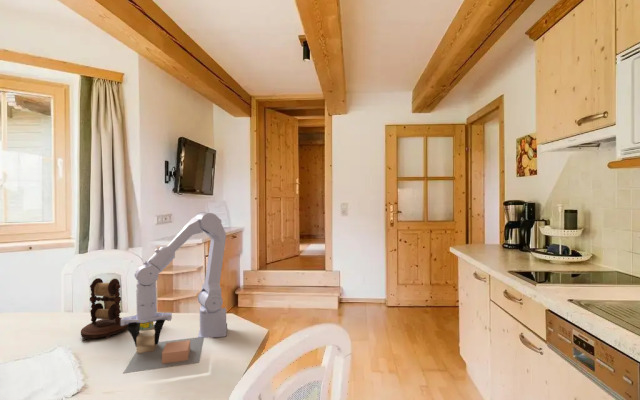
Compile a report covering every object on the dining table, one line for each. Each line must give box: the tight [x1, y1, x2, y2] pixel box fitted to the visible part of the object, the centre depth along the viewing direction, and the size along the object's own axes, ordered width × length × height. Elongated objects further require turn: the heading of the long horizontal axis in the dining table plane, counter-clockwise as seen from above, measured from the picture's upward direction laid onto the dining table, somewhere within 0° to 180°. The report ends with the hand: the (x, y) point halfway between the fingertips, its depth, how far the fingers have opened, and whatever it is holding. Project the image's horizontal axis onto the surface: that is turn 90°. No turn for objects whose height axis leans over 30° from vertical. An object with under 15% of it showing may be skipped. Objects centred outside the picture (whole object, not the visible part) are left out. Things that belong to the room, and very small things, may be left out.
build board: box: [122, 336, 205, 374], centre depth 100 cm, size 20×18×4 cm
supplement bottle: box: [140, 322, 154, 331], centre depth 120 cm, size 5×5×10 cm
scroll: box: [80, 277, 128, 339], centre depth 116 cm, size 15×15×20 cm
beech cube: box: [136, 329, 157, 353], centre depth 103 cm, size 5×5×5 cm
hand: (147, 344), depth 103 cm, fingers closed on beech cube, 5 cm apart
